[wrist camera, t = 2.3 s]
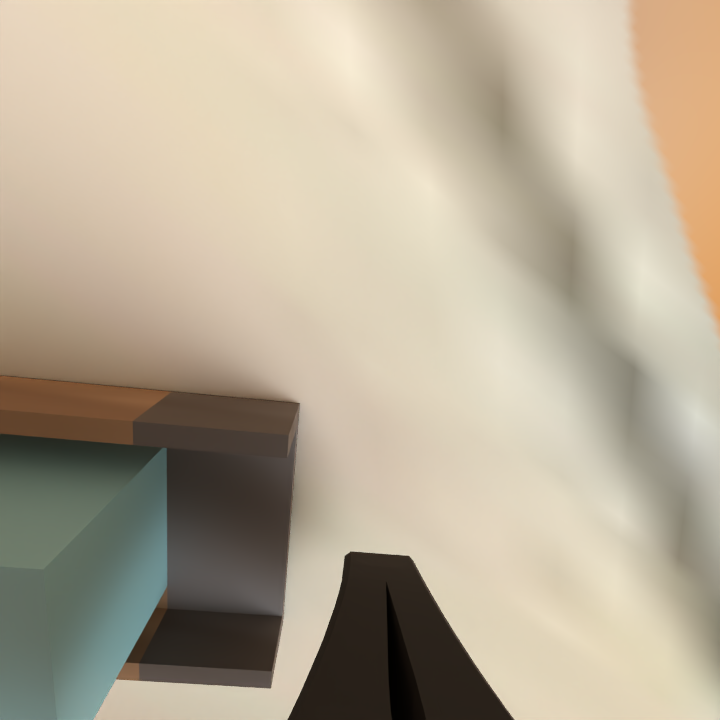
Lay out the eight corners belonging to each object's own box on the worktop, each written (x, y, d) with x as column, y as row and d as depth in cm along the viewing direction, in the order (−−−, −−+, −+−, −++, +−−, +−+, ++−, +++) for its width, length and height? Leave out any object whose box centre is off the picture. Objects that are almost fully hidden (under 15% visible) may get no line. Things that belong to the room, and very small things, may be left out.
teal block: (167, 586, 11) (61, 775, 7) (6, 575, 10) (-198, 764, 7) (166, 443, 10) (43, 569, 6) (-11, 428, 9) (-261, 547, 6)
